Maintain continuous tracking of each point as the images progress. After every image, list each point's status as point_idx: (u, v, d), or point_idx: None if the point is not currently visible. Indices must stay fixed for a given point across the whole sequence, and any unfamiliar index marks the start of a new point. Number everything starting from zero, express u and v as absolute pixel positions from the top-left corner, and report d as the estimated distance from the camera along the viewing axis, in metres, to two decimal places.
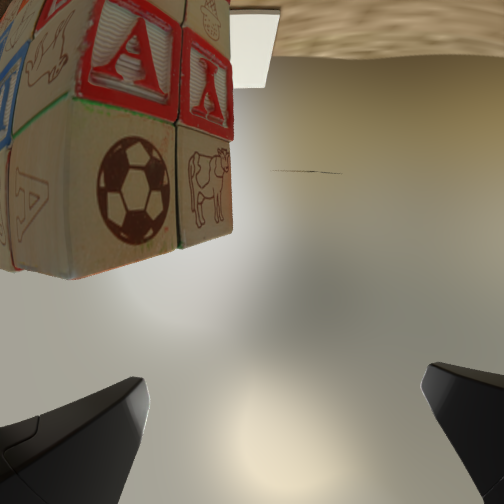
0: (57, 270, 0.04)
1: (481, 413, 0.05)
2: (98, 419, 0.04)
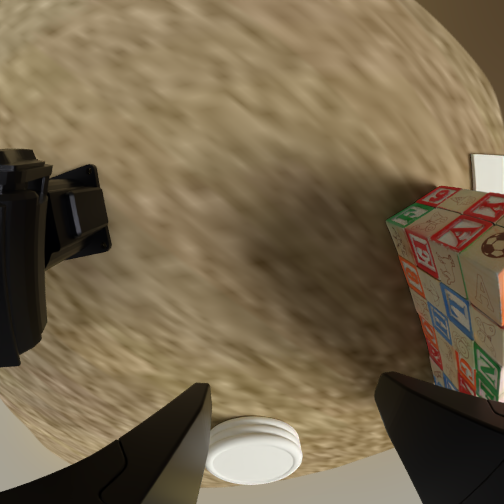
0: (496, 282, 0.08)
1: (433, 433, 0.05)
2: (187, 434, 0.04)
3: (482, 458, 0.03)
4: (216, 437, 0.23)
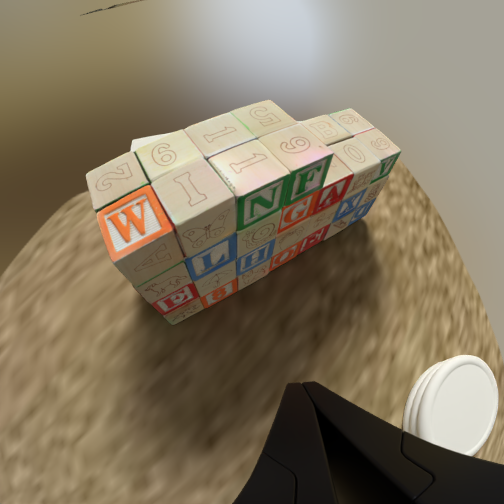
0: (122, 260, 0.11)
1: (338, 458, 0.05)
2: (320, 432, 0.05)
3: None
4: None
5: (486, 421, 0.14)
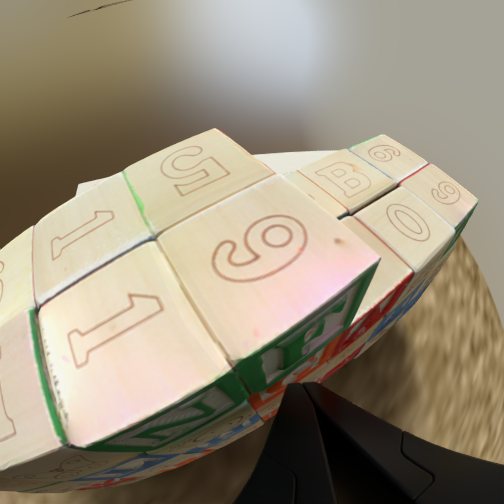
0: None
1: (338, 459, 0.05)
2: (320, 432, 0.05)
3: None
4: None
5: None
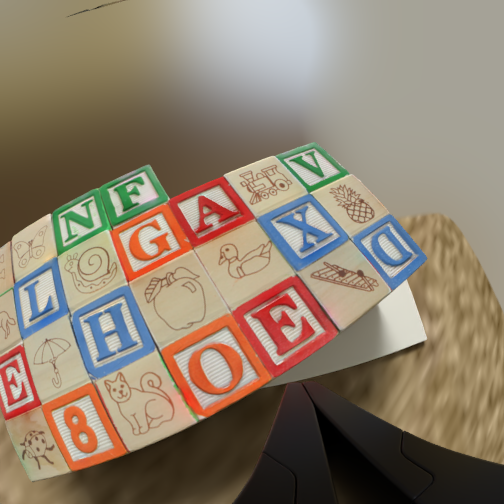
0: None
1: (339, 458, 0.05)
2: (320, 432, 0.05)
3: None
4: None
5: None
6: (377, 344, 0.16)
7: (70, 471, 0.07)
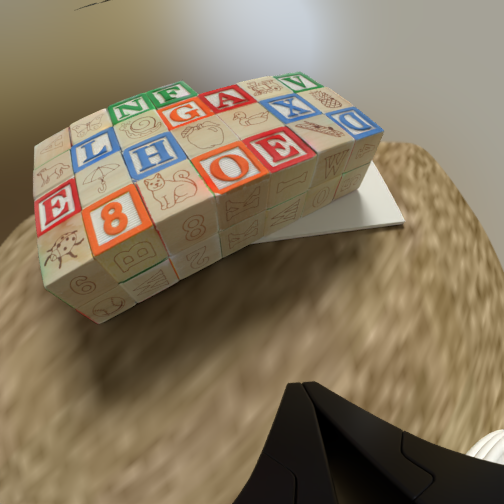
0: (38, 144, 0.15)
1: (339, 459, 0.05)
2: (320, 432, 0.05)
3: (381, 503, 0.03)
4: None
5: None
6: (360, 217, 0.20)
7: (92, 258, 0.11)
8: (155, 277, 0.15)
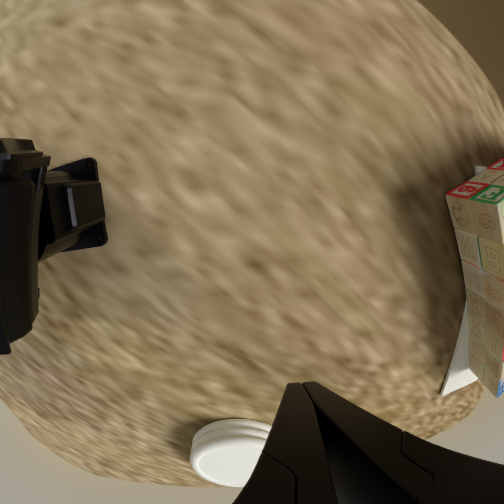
0: None
1: (338, 458, 0.05)
2: (320, 432, 0.05)
3: (381, 503, 0.03)
4: (203, 437, 0.22)
5: (219, 478, 0.23)
6: (455, 368, 0.23)
7: (503, 244, 0.13)
8: (471, 253, 0.18)
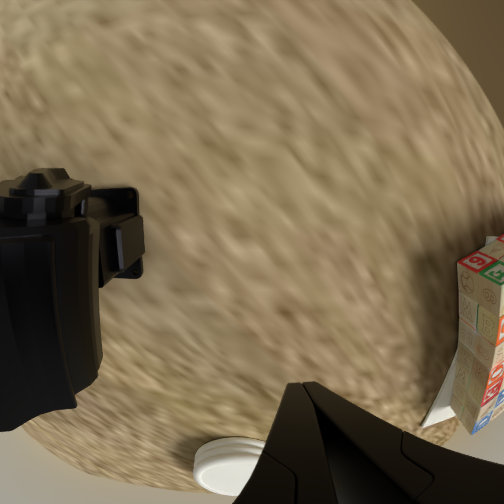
0: None
1: (338, 459, 0.05)
2: (320, 432, 0.05)
3: (381, 503, 0.03)
4: (210, 453, 0.23)
5: (217, 488, 0.24)
6: (438, 406, 0.25)
7: (499, 317, 0.15)
8: (469, 315, 0.20)
